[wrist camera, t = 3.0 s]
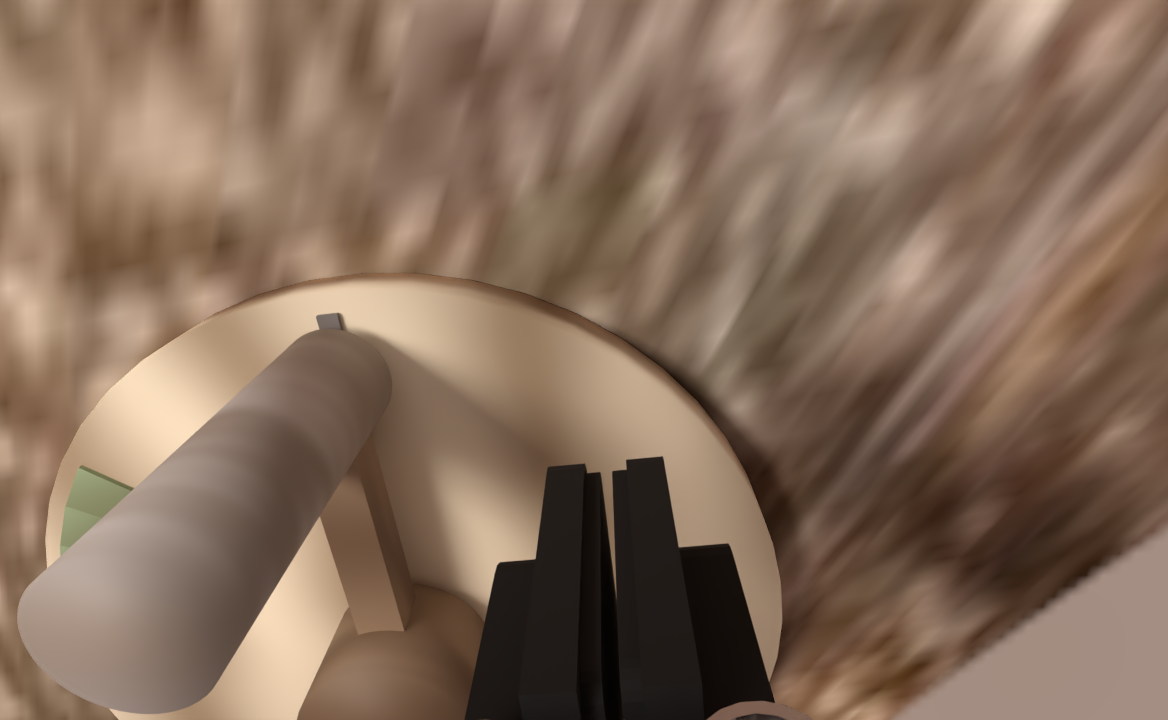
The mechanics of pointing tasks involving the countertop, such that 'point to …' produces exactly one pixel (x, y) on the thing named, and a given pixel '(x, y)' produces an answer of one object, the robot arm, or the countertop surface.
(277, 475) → the lever
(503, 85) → the countertop surface
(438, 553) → the dial plate
